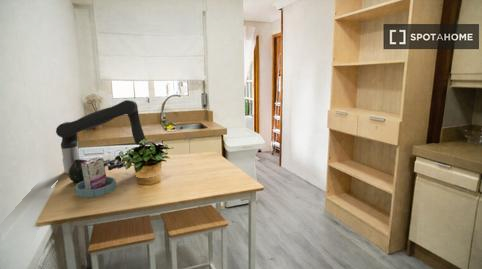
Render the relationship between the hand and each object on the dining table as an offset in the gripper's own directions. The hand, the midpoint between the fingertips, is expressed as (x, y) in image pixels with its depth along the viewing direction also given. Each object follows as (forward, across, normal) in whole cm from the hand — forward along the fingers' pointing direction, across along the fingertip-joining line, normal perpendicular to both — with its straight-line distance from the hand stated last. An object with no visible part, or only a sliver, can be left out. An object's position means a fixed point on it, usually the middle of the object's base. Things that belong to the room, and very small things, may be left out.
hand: (103, 167), depth 168 cm
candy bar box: (+6, 0, +10) cm, 12 cm away
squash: (-1, -19, +11) cm, 22 cm away
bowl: (+6, 0, +11) cm, 13 cm away
